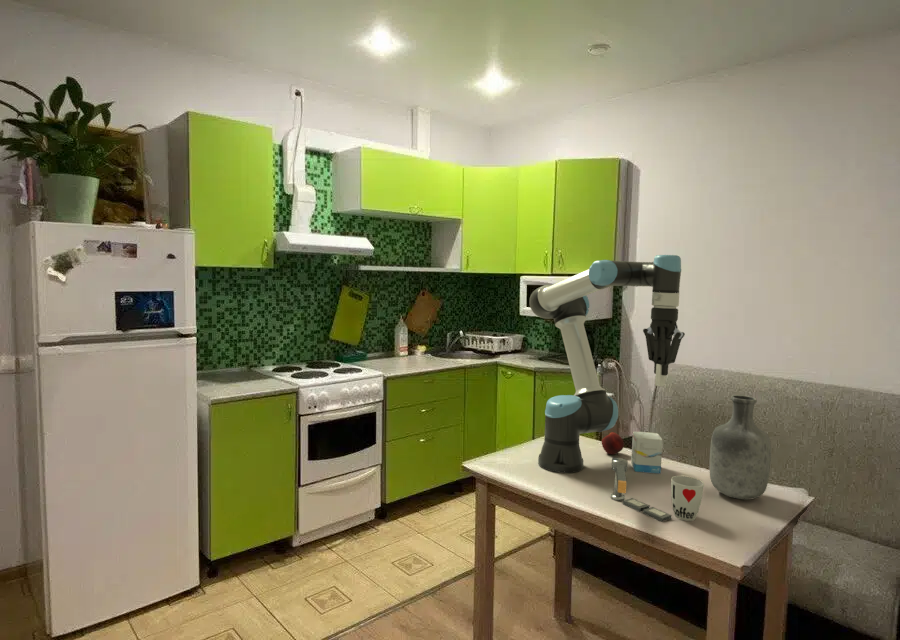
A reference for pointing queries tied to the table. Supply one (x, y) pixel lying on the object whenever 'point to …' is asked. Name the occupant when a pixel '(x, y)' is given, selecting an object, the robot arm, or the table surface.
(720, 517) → the table surface
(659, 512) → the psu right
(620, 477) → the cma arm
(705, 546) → the table surface
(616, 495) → the post
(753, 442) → the vase
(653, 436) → the ink box
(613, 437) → the apple
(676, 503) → the cup
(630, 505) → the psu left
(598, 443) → the table surface
